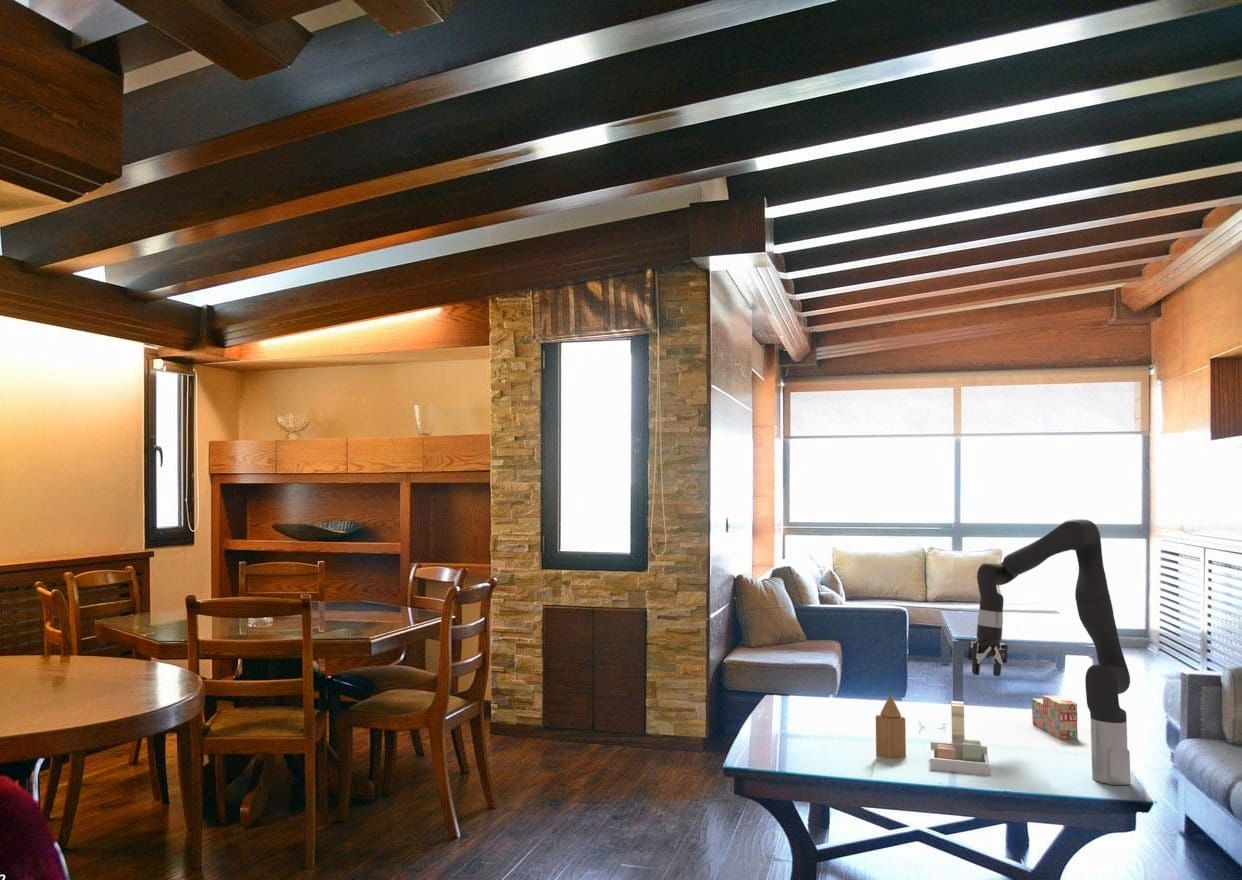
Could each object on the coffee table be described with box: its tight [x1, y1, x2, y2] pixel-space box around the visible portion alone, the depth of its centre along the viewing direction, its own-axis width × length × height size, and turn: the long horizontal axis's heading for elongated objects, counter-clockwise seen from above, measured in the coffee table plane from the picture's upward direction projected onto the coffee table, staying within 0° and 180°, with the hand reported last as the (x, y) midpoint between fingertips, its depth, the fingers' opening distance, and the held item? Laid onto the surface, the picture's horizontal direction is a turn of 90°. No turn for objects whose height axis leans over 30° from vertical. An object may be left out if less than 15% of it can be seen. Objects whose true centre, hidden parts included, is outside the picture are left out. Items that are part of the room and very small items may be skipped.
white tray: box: [929, 738, 991, 776], centre depth 270 cm, size 24×16×6 cm, turn 160°
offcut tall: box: [962, 739, 982, 762], centre depth 264 cm, size 6×5×7 cm
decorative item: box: [875, 693, 907, 760], centre depth 276 cm, size 7×7×20 cm
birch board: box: [950, 700, 965, 744], centre depth 275 cm, size 7×4×16 cm, turn 160°
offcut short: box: [938, 744, 956, 760], centre depth 266 cm, size 5×5×5 cm
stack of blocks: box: [1031, 695, 1079, 740], centre depth 313 cm, size 21×6×12 cm, turn 179°
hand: (986, 675), depth 288 cm, fingers open, 8 cm apart
